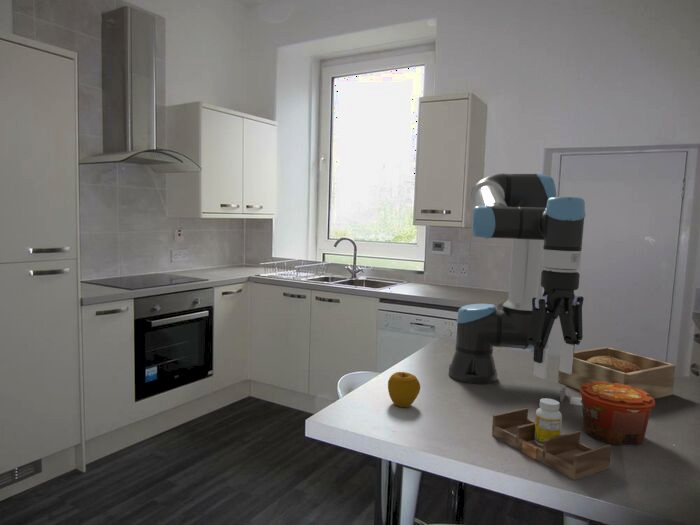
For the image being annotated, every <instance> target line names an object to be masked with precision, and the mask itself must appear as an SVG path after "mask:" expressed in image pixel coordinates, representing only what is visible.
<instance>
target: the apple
mask: <svg viewBox="0 0 700 525" xmlns="http://www.w3.org/2000/svg"><path fill="white" fill-rule="evenodd" d="M387 390H388V395H389V398H390V400H391V401H392V403H393V404H394V405H395V406H396V405H397V406H396V407H399V406H401V407H400V408H408V407H410V406H411V405H413V403H414V402H415V401H416V399H417V398H418V396H419V394H420V391H421V383H420V381H419V379H418V378H417V377H416V375H414V374H412V373H409V372H407V371H406V372H404V371H396V372H395V373H392V374H391V375H390V377H389V379H388V381H387Z"/></svg>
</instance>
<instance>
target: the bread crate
mask: <svg viewBox="0 0 700 525" xmlns="http://www.w3.org/2000/svg"><path fill="white" fill-rule="evenodd" d="M593 356H610V357H614V358H617V359H620V360H623V361H627V362H630V363H633V364H635V365H637V366H639V367H640V368H641V369H642V370H640V371H635V372H630V373H624V372H620V371H617V370H614V369H610V368H607V367H604V366H600V365H597V364H594V363H590V362H587V360H588V359H589V358H591V357H593ZM558 363H559V364H560V360H559V362H558ZM559 364H558V365H559ZM675 374H676V364H672V363H670V362H666V361H663V360H658V359H655V358H651V357H646V356H643V355H639V354H635V353H631V352H628V351H623V350H620V349H616V348H612V347H606V346H603V347H597V348H591V349H583V350H577V351H576V350H575V351H574V356H573V364H572V374H567V373H564V372H561V371H559V370H558V374H557V376H558V377H557V382H558V383H559V384H561V385H563V386H564V385H565V386H567V387H570V388H573V389H575V390H578V391H579V388H580V387H581V386H583V384H585V383H591V382H594V381H603V382H607V383H612V384H614V383H619V384H624V385H628V386H631V387H632V388H634V389H640V390H643V391H645V392H647V393H648V394H649V395H650V397H652V398H653V399H654V400H657V399H660V398H664V397H665V398H666V397H668V396H672V395H673V394H674V385H675V376H676V375H675Z"/></svg>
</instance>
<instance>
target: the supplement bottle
mask: <svg viewBox="0 0 700 525" xmlns="http://www.w3.org/2000/svg"><path fill="white" fill-rule="evenodd" d="M534 421H535V436H534V441H535V443H536V444H537V445H539V446H541V447H543V444H544V440H546V439H550V438H554V437H557V436H561V434H562V424H563V423H562V422H563V414H562V413H561V412H560V402H559V401H558V400H556V399H553V398H549V397H547V398H546V397H545V398H543V397H542V398H540V400H539V408H537V409H536V411H535V419H534Z"/></svg>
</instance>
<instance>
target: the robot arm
mask: <svg viewBox="0 0 700 525" xmlns="http://www.w3.org/2000/svg"><path fill="white" fill-rule="evenodd" d="M470 200H471V204H472V206H473V209H472V213H471V214H472V217H471V234H472V236H473V237H475V238H484V239H507V240H509V239H510V240H511V239H512V241H511V243H512V244H511V253H510V254H511V255H510V271H509V284H508V299H507V300H505V302H503V303H502V308H501V309H497V307H496V305H495V304H492V303H491V304H490V303H472V304H465V305H463V306H461V307H459V308H458V310H457V318H456V336H455V351H454V354H453V357H452V360H451V363H450V364H449V367H448V376H450V378H452V379H454V380H457V381H458V382H463V383H468V384H475V385H476V384H478V385H480V384H481V385H482V384H483V385H486V384H493V383H495V382H496V381H497V379H498V371H497V369H496V363H495V360H494V347H499V348H511V349H522V350H524V351H525V350H533V373H532V375H533V377H536V378H540V379H542V380H546V379H547V370H548V360H549V359H548V358H549V357H548V356H549V348H548V347H546V346H547V343H548V341H549V337H550V336H551V332H552V328H553V326H554V324H555V321H556V320H557V319H558V318H559V322H560V327H561V330H562V331H561V333H562V336H563V341H561V342H560V352H559V361H560V364H558V372H559V371H561V372H564V373H567V374H572V364H573V356H574V352H575V345H576V346H579V345H580V343H581V341H582V340H583V304H584V297H583V296H579V295H576V294H575V291H577V290H578V289H579V287H580V276H581V274H580V273H579V272H578V271H579V270H580V269H581V261H582V260H581V258H582V249H583V238H584V237H583V235H584V225H585V217H586V211H585V210H586V209H585V208H586V206H585V204H586V202H585V200H584V199H583V198H582V197H575V196H557V189H556V184H555V181H554V178H553V177H552V176H550V175H549V174H540V173H503V172H502V173H494V174H491V175H488V176H486V177H484V178H482V179H480V180H479V181H478V182H476V183H475V184H474V186H473V188H472V189H471V192H470ZM542 241H543V242H542ZM542 243H543V244H542ZM542 245H543V246H542ZM542 247H543V249H542ZM541 256H542V259H541ZM541 267H542V268H543V269H542V271H541V273H540V270H541V269H540V268H541ZM540 274H541V275H540ZM539 281H540V286H541V287H542V288H543V293H542V296H541V297H539Z"/></svg>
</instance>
